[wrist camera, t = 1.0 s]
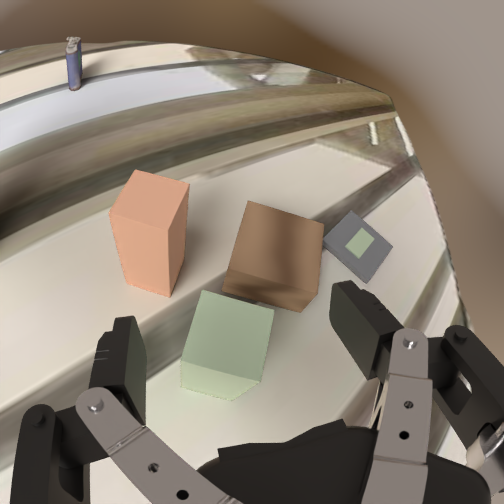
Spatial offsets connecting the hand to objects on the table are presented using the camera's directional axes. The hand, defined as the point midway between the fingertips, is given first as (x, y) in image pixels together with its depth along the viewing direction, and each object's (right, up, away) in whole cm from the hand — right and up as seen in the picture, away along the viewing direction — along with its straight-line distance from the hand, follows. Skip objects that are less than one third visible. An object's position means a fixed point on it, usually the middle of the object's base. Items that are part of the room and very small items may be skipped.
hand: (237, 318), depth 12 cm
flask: (-36, +38, +39) cm, 65 cm away
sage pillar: (-3, -9, +17) cm, 20 cm away
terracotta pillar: (-10, +1, +22) cm, 24 cm away
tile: (+15, +3, +30) cm, 33 cm away
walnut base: (+3, +1, +25) cm, 25 cm away
